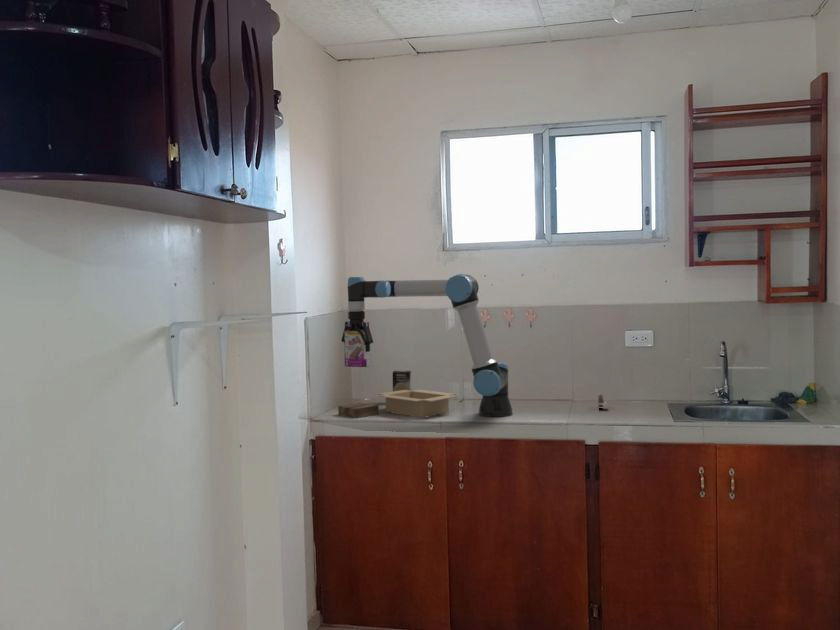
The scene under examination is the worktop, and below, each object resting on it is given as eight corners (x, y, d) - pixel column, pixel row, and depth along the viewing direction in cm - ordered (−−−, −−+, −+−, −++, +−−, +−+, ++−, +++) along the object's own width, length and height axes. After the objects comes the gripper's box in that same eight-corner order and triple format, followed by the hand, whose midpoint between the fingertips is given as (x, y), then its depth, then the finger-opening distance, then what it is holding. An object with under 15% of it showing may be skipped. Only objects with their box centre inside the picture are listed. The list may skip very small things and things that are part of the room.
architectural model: (606, 409, 351) (606, 393, 350) (605, 412, 344) (605, 395, 344) (598, 409, 352) (598, 393, 351) (598, 411, 345) (597, 395, 345)
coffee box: (392, 404, 373) (391, 372, 373) (393, 402, 380) (393, 370, 379) (410, 404, 372) (410, 372, 372) (412, 402, 379) (411, 370, 378)
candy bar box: (344, 366, 345) (343, 330, 344) (349, 365, 349) (348, 330, 349) (366, 367, 341) (365, 331, 340) (371, 366, 345) (370, 330, 345)
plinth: (378, 414, 346) (378, 405, 346) (357, 418, 337) (357, 409, 337) (359, 411, 355) (359, 402, 355) (338, 414, 346) (338, 406, 346)
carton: (464, 412, 347) (463, 394, 347) (425, 420, 328) (424, 402, 328) (411, 404, 371) (411, 388, 370) (372, 412, 352) (372, 394, 352)
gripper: (380, 310, 338) (381, 358, 339) (345, 310, 355) (346, 356, 356) (368, 311, 333) (369, 360, 334) (333, 310, 350) (334, 357, 351)
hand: (357, 358), depth 345 cm, fingers closed on candy bar box, 12 cm apart
